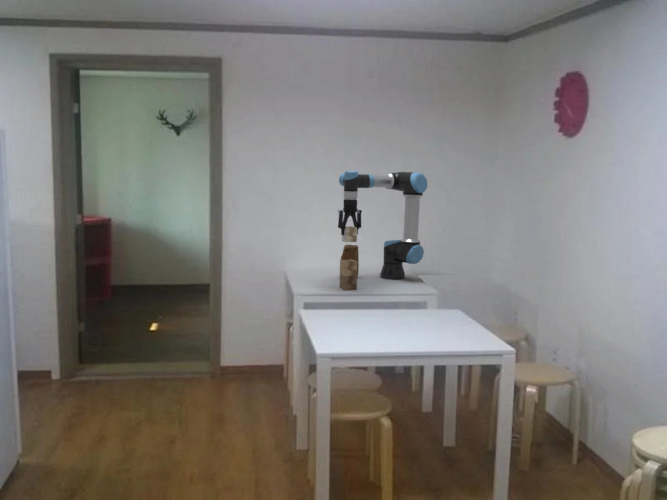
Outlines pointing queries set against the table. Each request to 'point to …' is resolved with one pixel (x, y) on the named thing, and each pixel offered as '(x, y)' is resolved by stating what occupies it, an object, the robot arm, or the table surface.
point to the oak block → (348, 267)
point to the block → (351, 254)
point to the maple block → (351, 234)
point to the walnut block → (348, 282)
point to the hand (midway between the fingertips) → (349, 240)
